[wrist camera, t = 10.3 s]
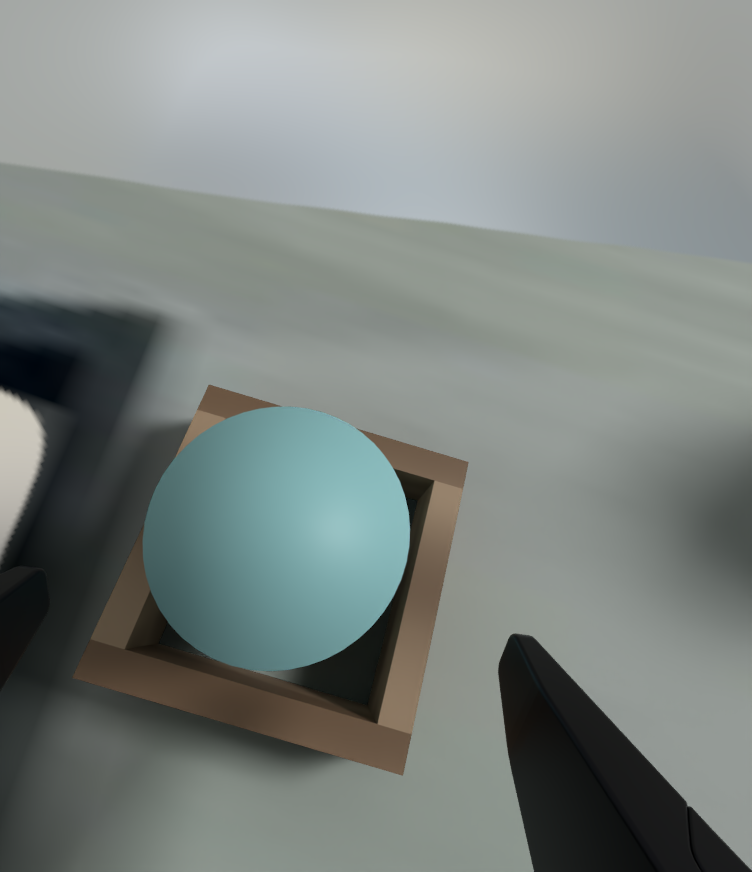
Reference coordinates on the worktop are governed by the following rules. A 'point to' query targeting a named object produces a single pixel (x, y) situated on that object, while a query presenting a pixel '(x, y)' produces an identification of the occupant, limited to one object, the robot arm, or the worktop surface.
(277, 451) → the peg
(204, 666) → the collar
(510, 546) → the worktop surface
